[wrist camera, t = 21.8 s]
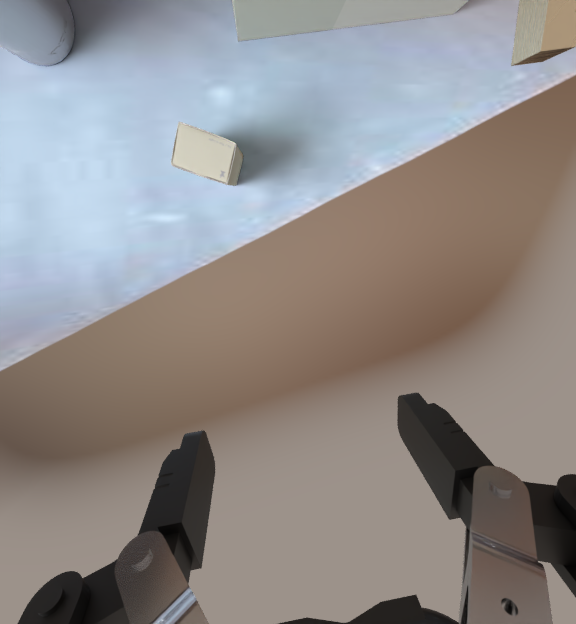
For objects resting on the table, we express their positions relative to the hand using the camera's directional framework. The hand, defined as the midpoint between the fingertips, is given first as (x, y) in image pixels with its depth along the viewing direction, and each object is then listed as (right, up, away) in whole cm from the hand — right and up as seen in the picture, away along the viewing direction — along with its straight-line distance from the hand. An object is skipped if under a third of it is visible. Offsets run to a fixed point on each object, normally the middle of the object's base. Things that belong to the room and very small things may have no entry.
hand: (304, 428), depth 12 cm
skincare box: (-11, +26, +30) cm, 41 cm away
